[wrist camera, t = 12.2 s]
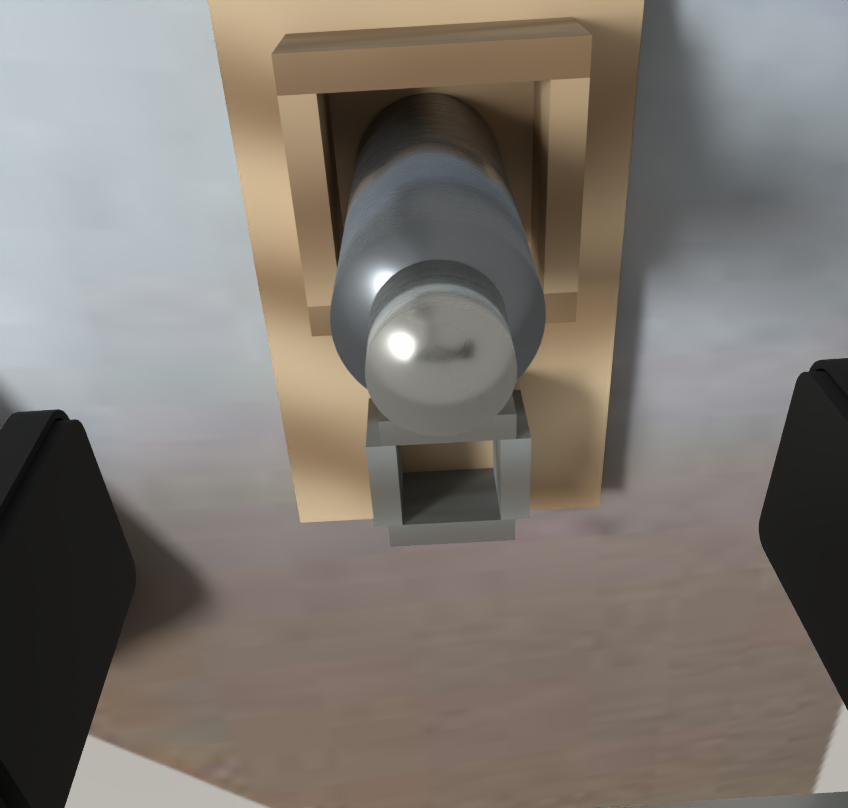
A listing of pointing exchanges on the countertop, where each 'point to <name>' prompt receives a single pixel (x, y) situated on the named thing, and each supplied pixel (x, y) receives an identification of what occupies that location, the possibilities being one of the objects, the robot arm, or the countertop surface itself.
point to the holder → (537, 206)
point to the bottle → (435, 270)
